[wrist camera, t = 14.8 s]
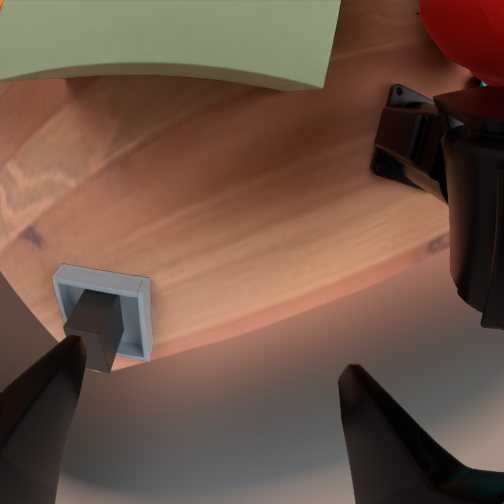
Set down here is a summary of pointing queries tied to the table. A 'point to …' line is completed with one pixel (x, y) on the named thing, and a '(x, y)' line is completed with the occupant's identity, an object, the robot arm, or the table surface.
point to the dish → (131, 298)
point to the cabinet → (170, 40)
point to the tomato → (469, 34)
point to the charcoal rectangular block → (97, 327)
